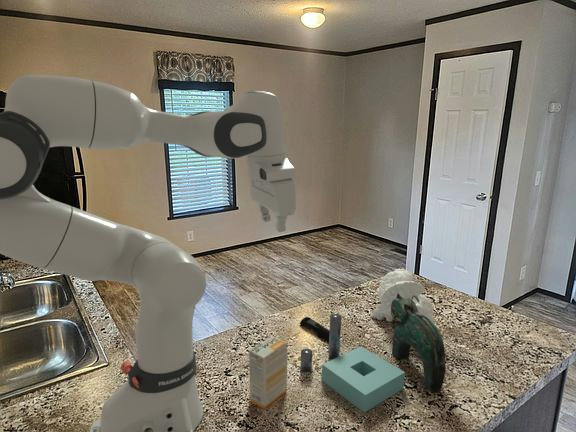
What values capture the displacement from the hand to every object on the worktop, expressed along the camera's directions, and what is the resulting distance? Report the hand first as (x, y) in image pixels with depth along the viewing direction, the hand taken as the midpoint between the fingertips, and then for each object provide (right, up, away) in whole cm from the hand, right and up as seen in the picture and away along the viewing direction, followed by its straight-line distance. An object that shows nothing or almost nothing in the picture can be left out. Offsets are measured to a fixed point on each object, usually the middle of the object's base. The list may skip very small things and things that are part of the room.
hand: (273, 225), depth 91 cm
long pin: (+16, -36, +16) cm, 43 cm away
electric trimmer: (+13, -34, +29) cm, 47 cm away
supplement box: (-1, -40, 0) cm, 40 cm away
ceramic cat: (+37, -38, +11) cm, 54 cm away
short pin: (+8, -38, +11) cm, 40 cm away
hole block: (+22, -39, +5) cm, 45 cm away
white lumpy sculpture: (+41, -32, +38) cm, 64 cm away
